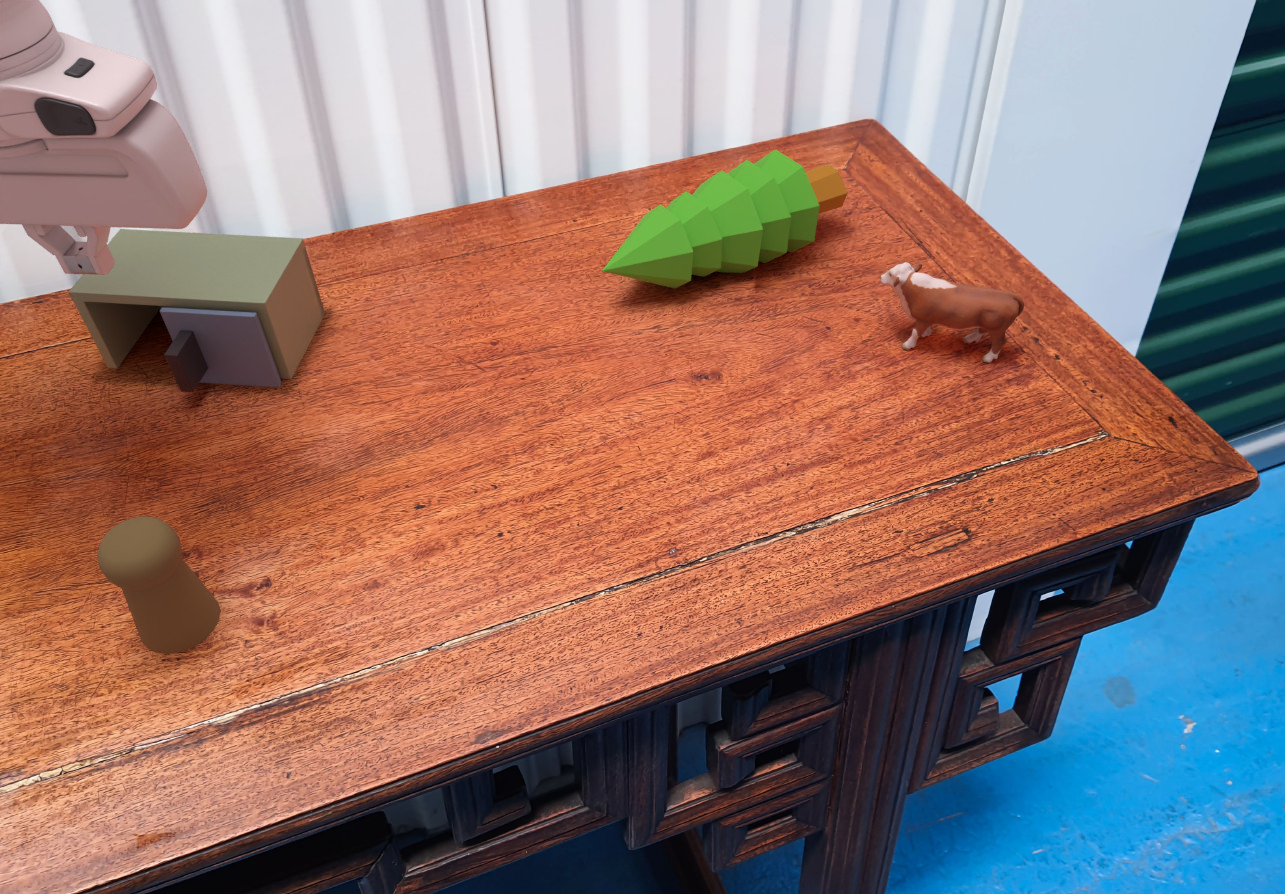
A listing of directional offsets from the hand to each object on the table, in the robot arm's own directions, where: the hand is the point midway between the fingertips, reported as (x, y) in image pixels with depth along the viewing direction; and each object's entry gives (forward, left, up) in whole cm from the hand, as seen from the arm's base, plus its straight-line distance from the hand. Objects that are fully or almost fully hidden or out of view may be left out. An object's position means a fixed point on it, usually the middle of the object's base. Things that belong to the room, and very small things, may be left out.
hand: (91, 269), depth 71 cm
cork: (+6, -16, -21) cm, 27 cm away
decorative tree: (+44, +34, -21) cm, 60 cm away
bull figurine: (+66, +23, -21) cm, 74 cm away
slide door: (0, +9, -20) cm, 22 cm away
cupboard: (-4, +16, -21) cm, 27 cm away
